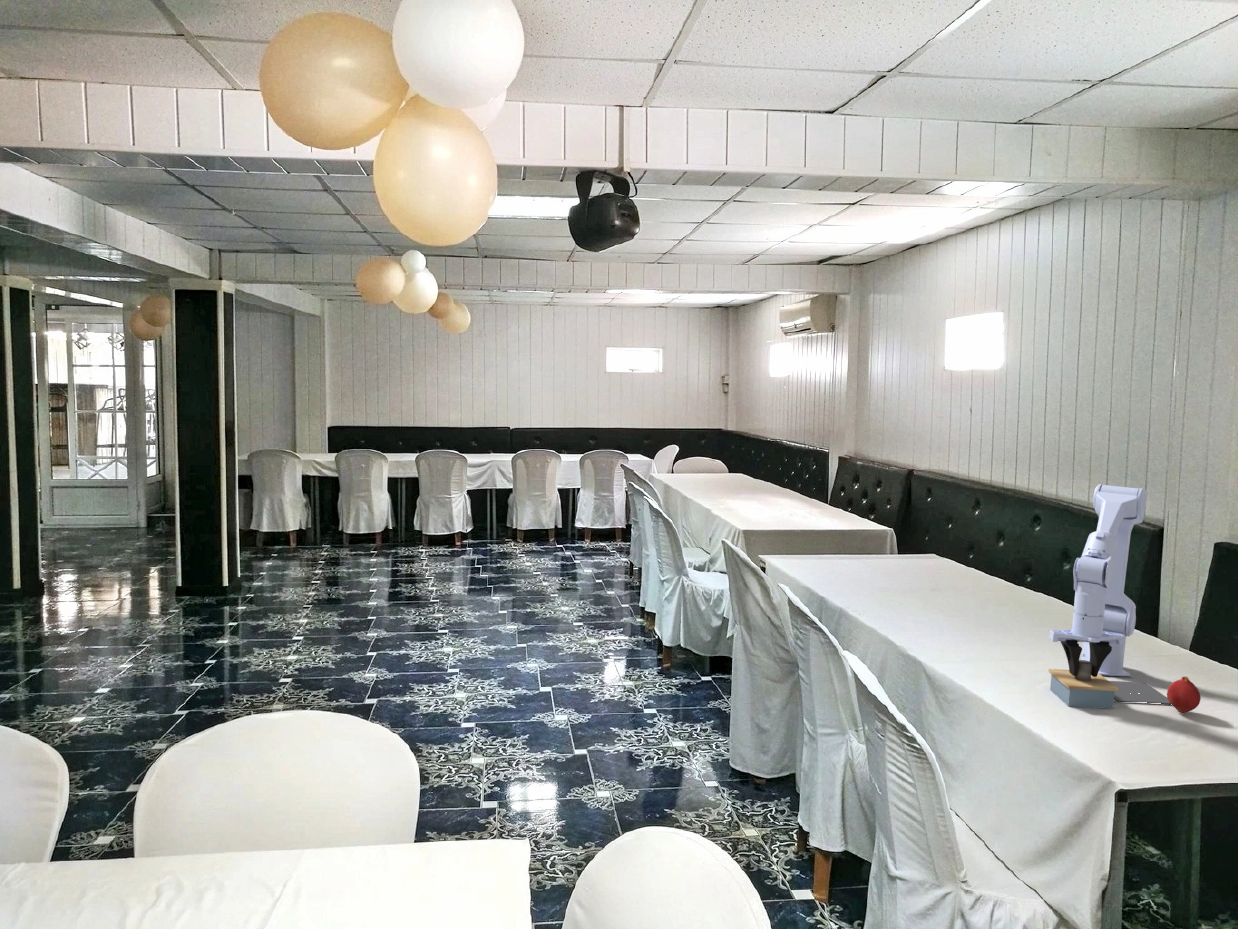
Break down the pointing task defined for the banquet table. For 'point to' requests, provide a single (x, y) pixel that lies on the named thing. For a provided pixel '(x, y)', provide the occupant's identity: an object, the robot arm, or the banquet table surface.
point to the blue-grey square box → (1082, 696)
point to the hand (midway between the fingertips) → (1083, 674)
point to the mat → (1134, 688)
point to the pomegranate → (1183, 695)
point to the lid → (1083, 678)
